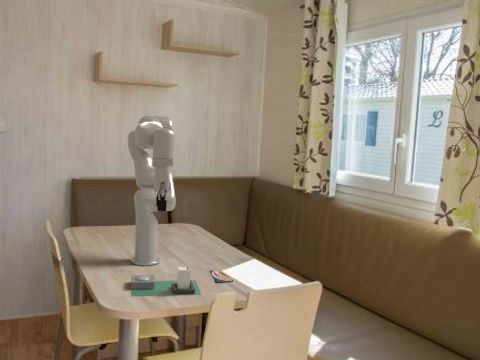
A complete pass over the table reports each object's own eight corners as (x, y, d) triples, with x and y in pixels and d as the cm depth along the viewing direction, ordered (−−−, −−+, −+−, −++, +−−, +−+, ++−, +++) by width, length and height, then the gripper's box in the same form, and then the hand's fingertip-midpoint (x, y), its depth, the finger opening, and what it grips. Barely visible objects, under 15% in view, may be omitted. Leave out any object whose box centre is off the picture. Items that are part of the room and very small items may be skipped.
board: (131, 284, 185) (131, 273, 185) (195, 283, 190) (196, 273, 190) (131, 299, 170) (131, 288, 169) (201, 298, 175) (201, 287, 174)
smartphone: (219, 269, 209) (234, 280, 195) (219, 271, 209) (234, 283, 195) (202, 270, 205) (216, 282, 192) (202, 272, 206) (216, 284, 192)
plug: (176, 288, 180) (177, 266, 179) (187, 288, 181) (188, 266, 180) (177, 292, 176) (178, 269, 175) (189, 292, 177) (190, 269, 176)
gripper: (151, 160, 192) (149, 204, 194) (153, 164, 175) (151, 212, 177) (171, 161, 193) (169, 204, 195) (174, 165, 177) (173, 213, 179)
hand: (161, 208), depth 186 cm, fingers open, 9 cm apart
